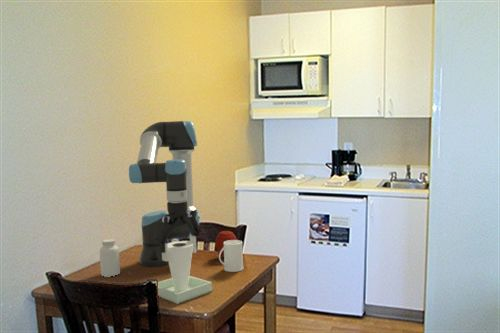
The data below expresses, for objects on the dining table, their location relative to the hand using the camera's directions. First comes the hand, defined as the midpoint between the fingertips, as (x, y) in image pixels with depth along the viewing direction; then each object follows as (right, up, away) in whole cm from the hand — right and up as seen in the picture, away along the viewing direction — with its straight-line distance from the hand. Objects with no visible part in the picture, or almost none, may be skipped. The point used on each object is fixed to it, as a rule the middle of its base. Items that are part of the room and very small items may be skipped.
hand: (179, 256), depth 192 cm
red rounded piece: (+16, -9, +47) cm, 50 cm away
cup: (+1, -14, +1) cm, 14 cm away
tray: (+1, -14, +1) cm, 14 cm away
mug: (+18, -11, +28) cm, 35 cm away
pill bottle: (-33, -13, +26) cm, 44 cm away
